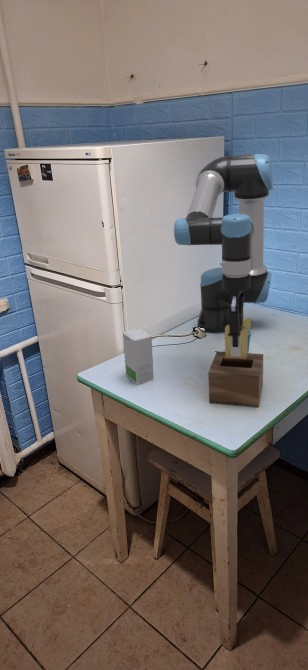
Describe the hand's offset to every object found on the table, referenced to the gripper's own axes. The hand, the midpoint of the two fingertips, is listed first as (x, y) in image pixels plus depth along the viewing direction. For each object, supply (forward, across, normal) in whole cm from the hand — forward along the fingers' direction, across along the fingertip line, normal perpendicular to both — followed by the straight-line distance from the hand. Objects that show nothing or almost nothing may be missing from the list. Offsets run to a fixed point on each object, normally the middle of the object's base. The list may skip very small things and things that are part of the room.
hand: (236, 353), depth 135 cm
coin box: (+13, 0, 0) cm, 13 cm away
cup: (+13, -21, -2) cm, 25 cm away
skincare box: (+13, -5, -32) cm, 35 cm away
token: (+1, 0, 0) cm, 1 cm away
